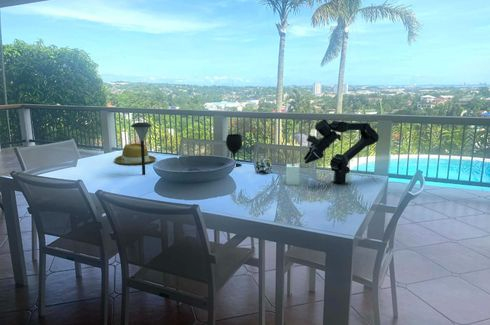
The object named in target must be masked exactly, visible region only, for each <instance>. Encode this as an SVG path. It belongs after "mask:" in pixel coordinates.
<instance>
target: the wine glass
mask: <svg viewBox="0 0 490 325" xmlns="http://www.w3.org/2000/svg"><path fill="white" fill-rule="evenodd" d="M225 143H226V144H225V145H226V148H227V149H228V150H229V152H230V153H231V154H232V156H233V159H234V160H235V161H236V158H235V157H236V154H237V153H238V152H239V151H240V150H241V149H242V145H243V138H242V134H237V133H231V134H227V135H226V138H225ZM233 159H232V160H233ZM235 163H236V167H235V168H239V167H242V163H238V162H235Z"/></svg>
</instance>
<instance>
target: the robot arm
mask: <svg viewBox="0 0 490 325" xmlns="http://www.w3.org/2000/svg"><path fill="white" fill-rule="evenodd" d="M314 129H315V130H316V131H317V132H318V134H320V135H321V136H322V137H320V138H317V136H315V135H311V134H308V135H307V138H306V142H308V143H310V144H309V147H308V148H309V150H308V151H307V153H306V155H305V156H304V157H303V160H304V164H309V163H312V162H314V161H318V160H322V159H323V158H324V151H325V150H327V149H329V148H330V146H331V145H332V144H333V143H334V142H335V141H337V140H338V141H342V138H341V137H342V136H341V134H339V133H346V132H348V131H359V134H360V135H361V136H360V138H359V140H358V141H356V143H354V144H353V145H352V146H351V147H350V148H348V149H347V150H346V151H345V152H343V153H342V154H340V153H336V154H335V155H334V156H333V157H331V159H330V161H329V165H330V170H331V171H333V180H331V183H332V184H333V183H334V184H335V185H347V184H348V181H346V178H347V175H348V174H349V173H350V170H351V168H350V167H349V162H350V161H351V160H353V158H355V157H356V156H357V155H358V154H359V153H360V152H362V151H363V150H364V149H365V148H367V147H368V146H373V145H374V144H376V143H378V141H379V138H380V136H379V134H378V132H377V131H376V130H375V129H374V128H373V127H372V126H371V125H370V123H368V122H365V121H364V122H346V121H342V120H341V121H340V120H332V122H331V123H329V122H328V120H327V119H321V121H318V123H316V124H315V126H314Z"/></svg>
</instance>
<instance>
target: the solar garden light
mask: <svg viewBox="0 0 490 325" xmlns="http://www.w3.org/2000/svg"><path fill="white" fill-rule="evenodd" d="M130 127H131V128H134V131H135V132H136V133H137V136H138V138H139V140H140V144H141V158H142V164H141V174H142V176H146V164H145V155H144V145H145V139H146V136H147V134H148V132H149V128H152V127H153V125H152V124H150V123H148V122H144V121H143V122H142V121H141V122H134V123H133V124H132V125H130Z"/></svg>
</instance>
